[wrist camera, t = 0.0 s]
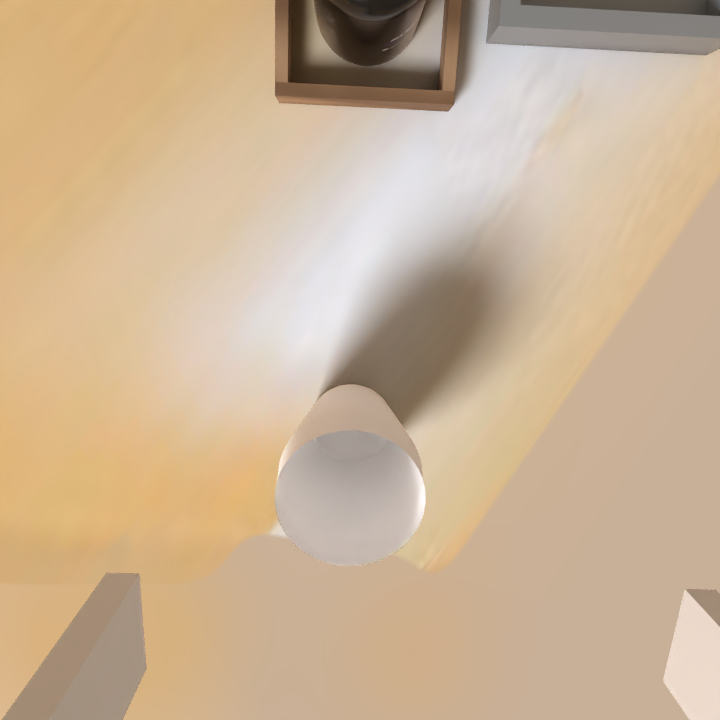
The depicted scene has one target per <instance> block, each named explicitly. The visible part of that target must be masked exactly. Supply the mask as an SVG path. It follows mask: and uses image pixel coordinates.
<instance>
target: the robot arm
mask: <svg viewBox="0 0 720 720" xmlns="http://www.w3.org/2000/svg"><path fill="white" fill-rule="evenodd" d="M145 671H146V657H145V644H144V630H143V617H142V603H141V590H140V576H139V574H135V573H106V574H105V576H104V577H103V578H102V580H101V581H100V583H99V584H98V585H97V587H96V588H95V590H94V591H93V593H92V594H91V595H90V597H89V598H88V600H87V601H86V602H85V604H84V605H83V607H82V608H81V609H80V611H79V612H78V614H77V615H76V616H75V618H74V619H73V621H72V622H71V623H70V625H69V626H68V628H67V629H66V630H65V632H64V633H63V635H62V636H61V637H60V639H59V640H58V642H57V643H56V644H55V646H54V647H53V649H52V650H51V652H50V653H49V654H48V656H47V657H46V659H45V660H44V661H43V663H42V664H41V666H40V667H39V668H38V670H37V671H36V673H35V674H34V675H33V677H32V678H31V680H30V681H29V682H28V684H27V685H26V687H25V688H24V689H23V691H22V692H21V694H20V695H19V696H18V698H17V699H16V701H15V702H14V703H13V705H12V706H11V708H10V709H9V710H8V712H7V713H6V715H5V716H4V717H3V719H2V720H123V718H124V716H125V713H126V711H127V709H128V707H129V705H130V703H131V700H132V698H133V696H134V694H135V692H136V690H137V688H138V685H139V683H140V681H141V679H142V677H143V675H144V673H145ZM663 682H664V683H665V684H666V686H667V688H668V689H669V690H670V692H671V693H672V695H673V696H674V698H675V699H676V701H677V702H678V704H679V705H680V706H681V708H682V709H683V711H684V712H685V714H686V715H687V717H688V718H689V719H690V720H720V594H719V593H718V592H717V591H716V590H699V589H685V591H684V595H683V599H682V603H681V608H680V612H679V616H678V620H677V624H676V629H675V633H674V637H673V641H672V645H671V650H670V654H669V658H668V662H667V666H666V671H665V675H664V679H663Z"/></svg>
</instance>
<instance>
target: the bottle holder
mask: <svg viewBox="0 0 720 720" xmlns="http://www.w3.org/2000/svg"><path fill="white" fill-rule="evenodd" d="M461 9H462V0H445V4H444V17H443V31H442V44H441V58H440V71H439V85H438V90H423V89H404V88H385V87H365V86H346V85H327V84H308V83H291V73H292V0H275V96H276V98H277V99H278V101H279V103H293V104H313V105H332V106H352V107H371V108H391V109H410V110H430V111H449V110H450V108H451V107H452V106H453V105H454V94H455V82H456V70H457V58H458V45H459V33H460V21H461Z"/></svg>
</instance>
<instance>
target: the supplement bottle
mask: <svg viewBox="0 0 720 720" xmlns="http://www.w3.org/2000/svg"><path fill="white" fill-rule="evenodd" d="M425 2H426V0H314V6H315V12H316V17H317V22H318V26H319V28H320V31H321V33H322V36H323V38H324V39H325V41H326V43H327V44H328V45H329V47H330V48H331V49H332V50H333V51H334V52H335V53H336V54H337V55H338V56H340V57H341V58H342V59H344V60H346V61H348V62H350V63H353V64H356V65H361V66H375V65H380V64H383V63H386V62H388V61H390V60H392V59H393V58H395V57H396V56H397V55H399V54H400V53H401V52H402V51H403V50H404V49H405V47H406V46H407V45H408V43H409V42H410V40H411V39H412V37H413V35H414V33H415V30H416V28H417V25H418V23H419V20H420V17H421V14H422V11H423V8H424V5H425Z"/></svg>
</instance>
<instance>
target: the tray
mask: <svg viewBox="0 0 720 720" xmlns="http://www.w3.org/2000/svg"><path fill="white" fill-rule="evenodd" d="M486 43H491V44H510V45H528V46H546V47H565V48H583V49H601V50H619V51H638V52H656V53H674V54H693V55H708V54H710V53H712V52H714V51H716V50H718V49H720V0H490V9H489V20H488V30H487V41H486Z"/></svg>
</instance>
